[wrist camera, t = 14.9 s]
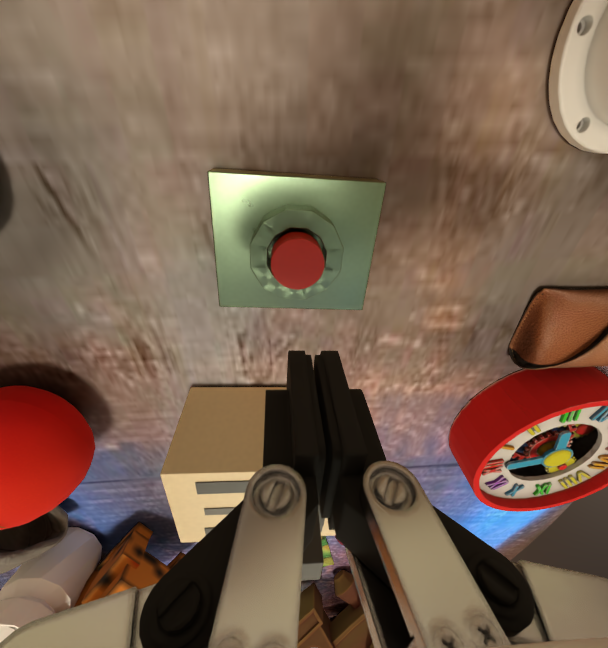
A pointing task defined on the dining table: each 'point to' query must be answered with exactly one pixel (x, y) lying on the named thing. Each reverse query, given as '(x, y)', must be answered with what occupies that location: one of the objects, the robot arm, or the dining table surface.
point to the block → (288, 216)
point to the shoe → (32, 538)
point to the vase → (49, 581)
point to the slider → (314, 553)
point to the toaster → (215, 457)
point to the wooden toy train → (345, 630)
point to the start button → (297, 260)
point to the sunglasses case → (563, 330)
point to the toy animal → (126, 567)
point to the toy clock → (535, 438)
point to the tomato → (39, 453)
